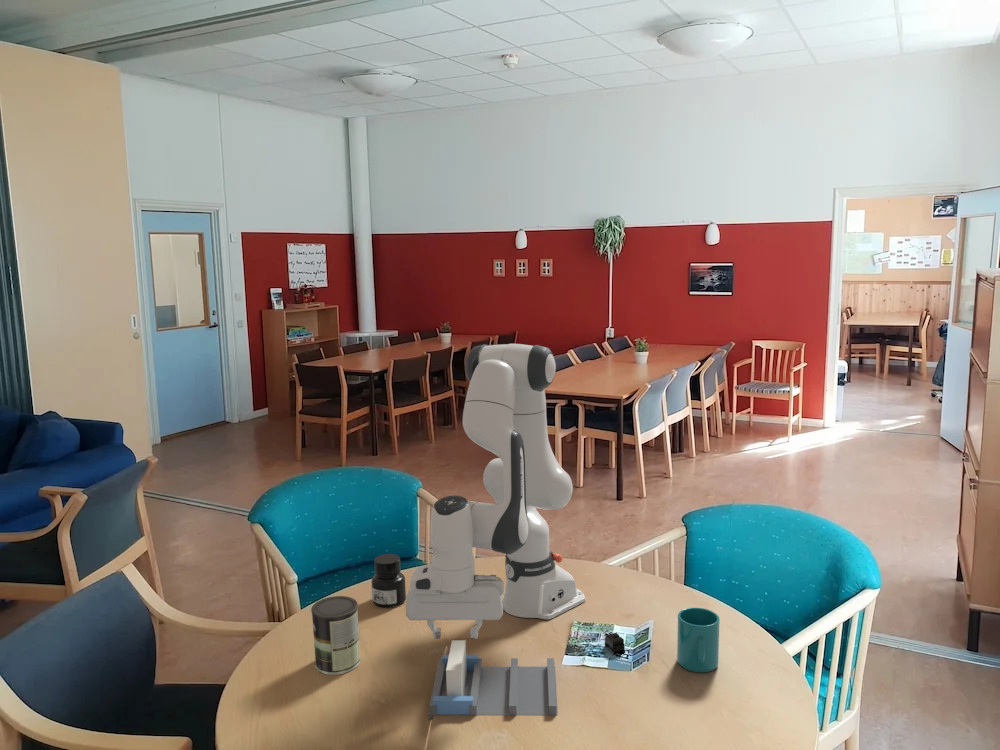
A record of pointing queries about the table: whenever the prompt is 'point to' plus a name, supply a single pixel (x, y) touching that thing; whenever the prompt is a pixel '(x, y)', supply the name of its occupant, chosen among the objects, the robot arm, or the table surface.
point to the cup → (698, 639)
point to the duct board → (497, 690)
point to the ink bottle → (388, 582)
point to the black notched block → (615, 643)
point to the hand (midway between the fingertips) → (455, 637)
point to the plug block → (456, 668)
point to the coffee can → (336, 635)
